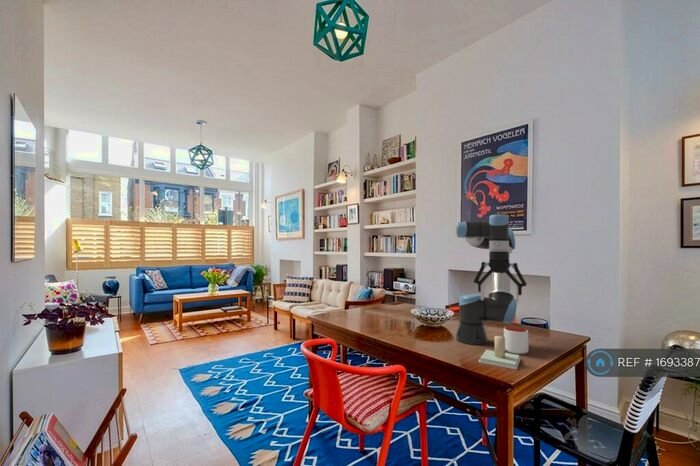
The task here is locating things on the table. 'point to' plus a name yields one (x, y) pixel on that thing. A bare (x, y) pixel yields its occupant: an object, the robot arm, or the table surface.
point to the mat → (502, 365)
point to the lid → (500, 354)
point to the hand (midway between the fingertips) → (499, 301)
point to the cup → (516, 340)
